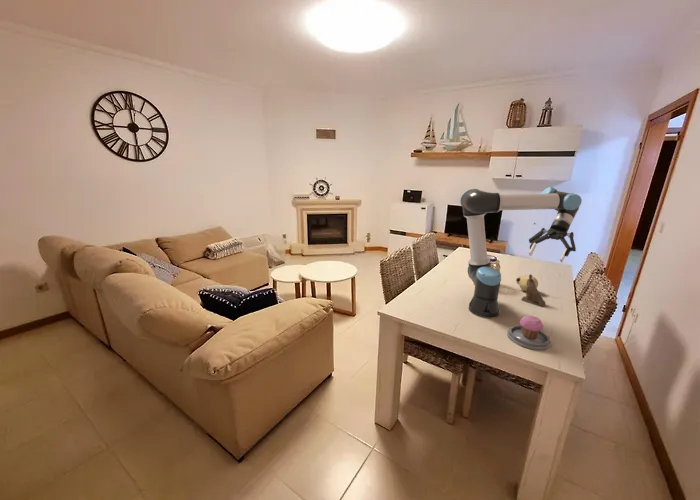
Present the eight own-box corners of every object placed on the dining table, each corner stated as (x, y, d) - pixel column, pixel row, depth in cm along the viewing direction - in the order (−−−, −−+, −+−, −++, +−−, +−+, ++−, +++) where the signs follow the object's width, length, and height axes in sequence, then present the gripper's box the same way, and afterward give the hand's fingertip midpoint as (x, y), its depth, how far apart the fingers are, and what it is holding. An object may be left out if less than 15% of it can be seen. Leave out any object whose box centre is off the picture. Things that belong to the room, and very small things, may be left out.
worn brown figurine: (520, 304, 173) (518, 274, 171) (524, 301, 176) (523, 272, 174) (543, 307, 163) (541, 276, 161) (547, 305, 166) (545, 274, 164)
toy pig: (520, 286, 193) (523, 270, 190) (539, 292, 183) (542, 276, 180) (511, 288, 188) (514, 273, 185) (530, 295, 178) (534, 279, 175)
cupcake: (544, 341, 129) (549, 321, 126) (525, 342, 128) (529, 322, 126) (531, 331, 137) (535, 311, 135) (513, 331, 137) (517, 312, 134)
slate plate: (499, 336, 135) (500, 331, 135) (518, 325, 144) (519, 321, 144) (539, 355, 122) (540, 350, 121) (557, 342, 131) (558, 337, 130)
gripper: (592, 232, 142) (575, 268, 137) (535, 224, 161) (519, 255, 156) (591, 223, 137) (575, 259, 132) (533, 216, 156) (516, 247, 151)
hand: (544, 257), depth 144 cm, fingers open, 13 cm apart
